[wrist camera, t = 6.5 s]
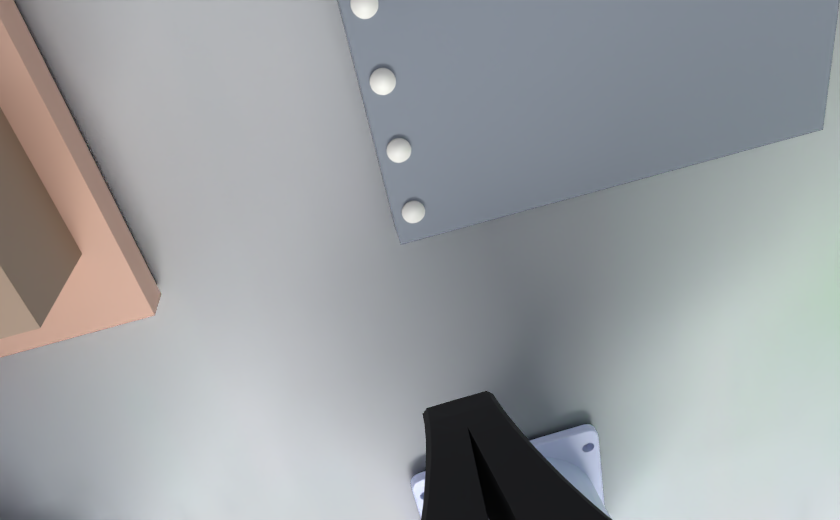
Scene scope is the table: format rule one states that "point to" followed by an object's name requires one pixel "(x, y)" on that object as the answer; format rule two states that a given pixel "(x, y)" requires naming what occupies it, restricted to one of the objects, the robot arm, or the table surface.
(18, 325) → the stub
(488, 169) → the board
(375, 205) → the table surface
